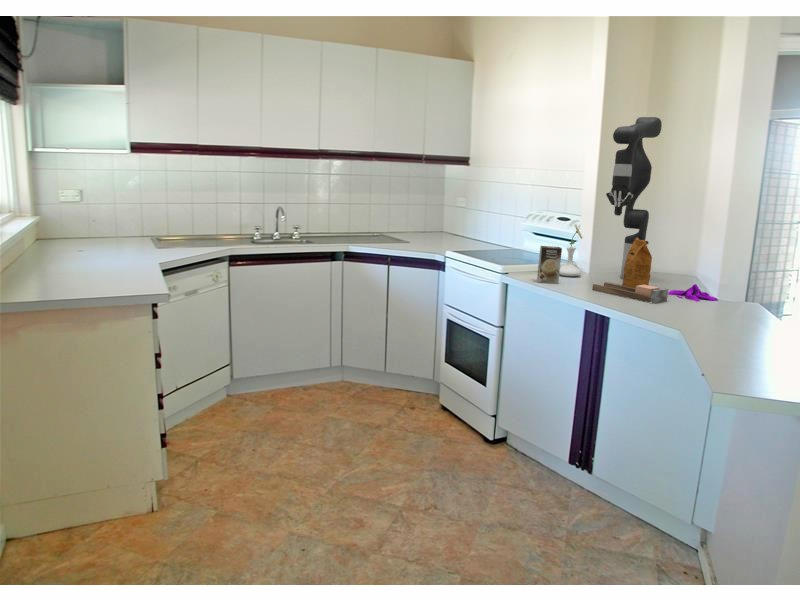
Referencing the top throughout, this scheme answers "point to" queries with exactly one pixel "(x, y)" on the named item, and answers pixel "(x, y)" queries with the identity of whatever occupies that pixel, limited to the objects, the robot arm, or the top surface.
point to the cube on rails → (632, 292)
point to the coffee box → (549, 264)
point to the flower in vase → (570, 260)
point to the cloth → (693, 294)
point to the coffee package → (637, 265)
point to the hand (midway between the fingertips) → (617, 215)
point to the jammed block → (645, 289)
